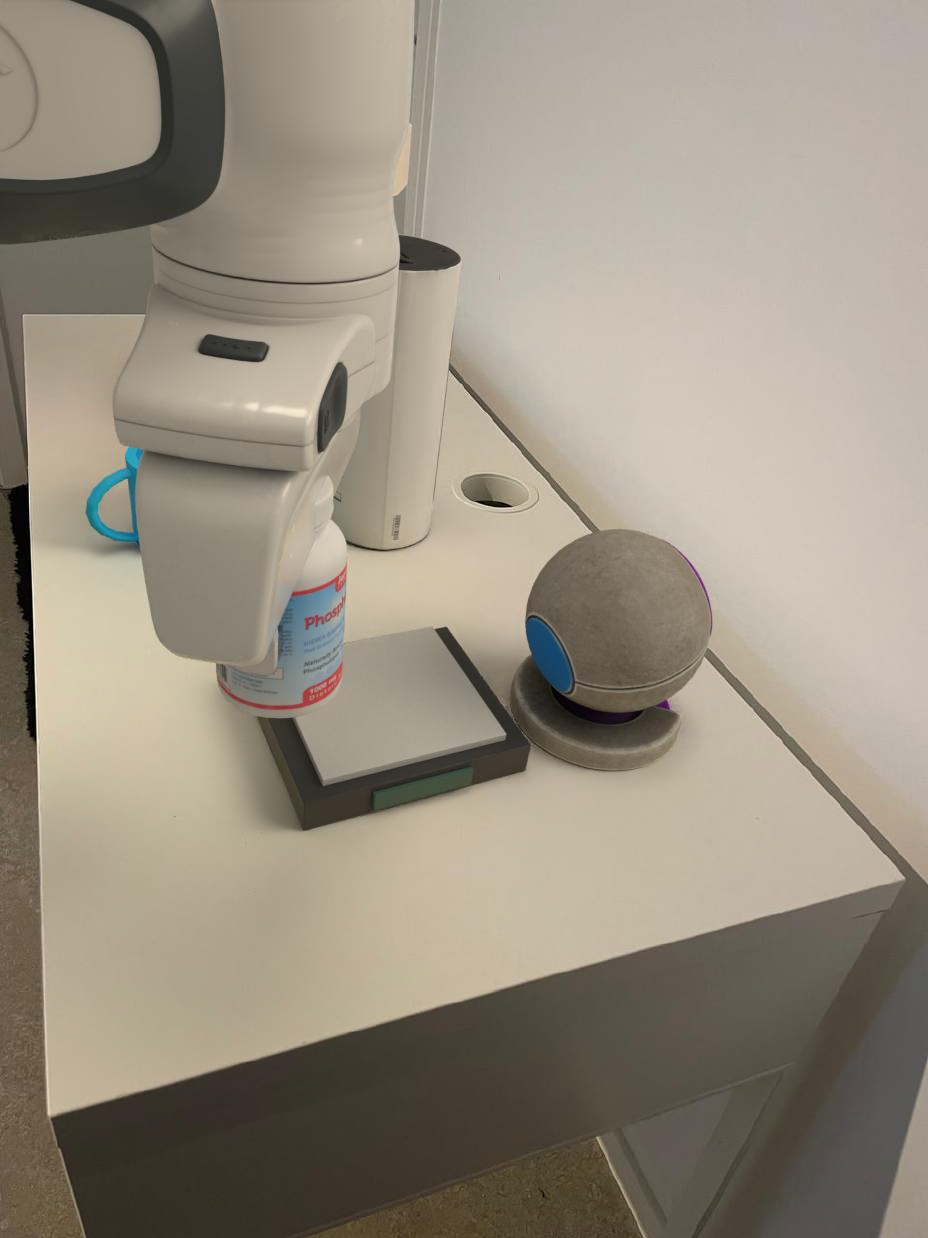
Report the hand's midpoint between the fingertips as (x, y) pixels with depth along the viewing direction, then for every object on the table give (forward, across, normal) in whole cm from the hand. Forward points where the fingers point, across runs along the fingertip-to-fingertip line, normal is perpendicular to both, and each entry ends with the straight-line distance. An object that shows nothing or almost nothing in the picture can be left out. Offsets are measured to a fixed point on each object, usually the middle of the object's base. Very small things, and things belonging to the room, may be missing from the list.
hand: (280, 616), depth 43 cm
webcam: (+19, -19, +19) cm, 33 cm away
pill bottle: (+4, 0, 0) cm, 4 cm away
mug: (+19, -33, -19) cm, 43 cm away
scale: (+19, -13, +4) cm, 24 cm away
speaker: (+19, -42, -1) cm, 46 cm away
